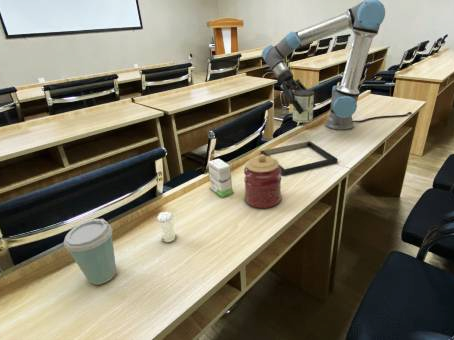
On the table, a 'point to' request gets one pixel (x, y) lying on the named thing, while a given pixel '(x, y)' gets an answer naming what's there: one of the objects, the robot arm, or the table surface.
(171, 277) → the table surface
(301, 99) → the coffee can
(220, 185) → the ink box
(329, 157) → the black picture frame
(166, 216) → the salt shaker
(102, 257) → the disposable coffee cup
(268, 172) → the kitchen canister
